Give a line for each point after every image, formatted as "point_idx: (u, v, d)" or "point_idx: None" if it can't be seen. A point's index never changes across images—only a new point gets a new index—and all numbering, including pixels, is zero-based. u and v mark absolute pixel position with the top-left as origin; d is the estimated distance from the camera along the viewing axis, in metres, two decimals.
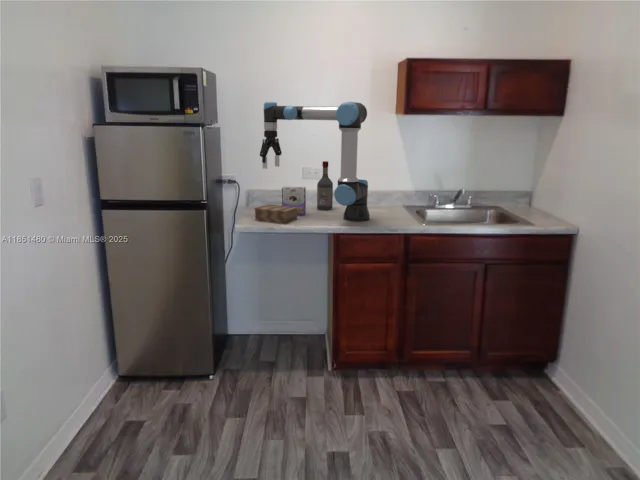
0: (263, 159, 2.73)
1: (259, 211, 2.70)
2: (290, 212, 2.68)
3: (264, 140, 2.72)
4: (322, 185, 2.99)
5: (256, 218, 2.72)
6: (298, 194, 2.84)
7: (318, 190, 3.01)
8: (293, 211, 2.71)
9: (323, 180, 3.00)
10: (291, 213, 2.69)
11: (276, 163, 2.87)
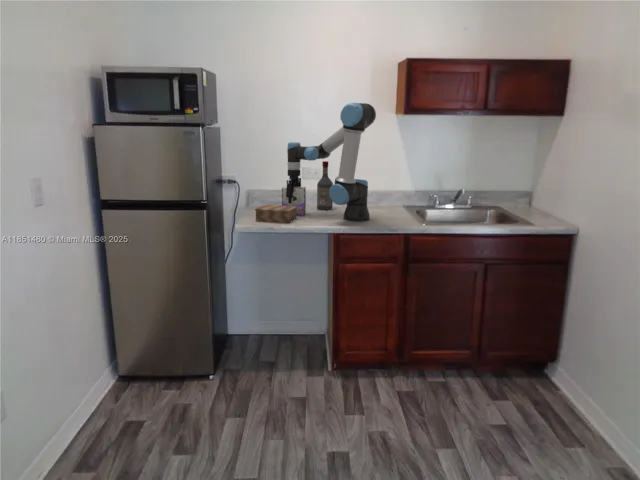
0: (289, 200, 2.83)
1: (260, 212, 2.68)
2: (292, 211, 2.70)
3: (288, 181, 2.80)
4: (322, 185, 2.99)
5: (257, 219, 2.70)
6: (298, 194, 2.84)
7: (318, 190, 3.01)
8: (293, 210, 2.73)
9: (323, 180, 3.00)
10: (292, 212, 2.71)
11: None
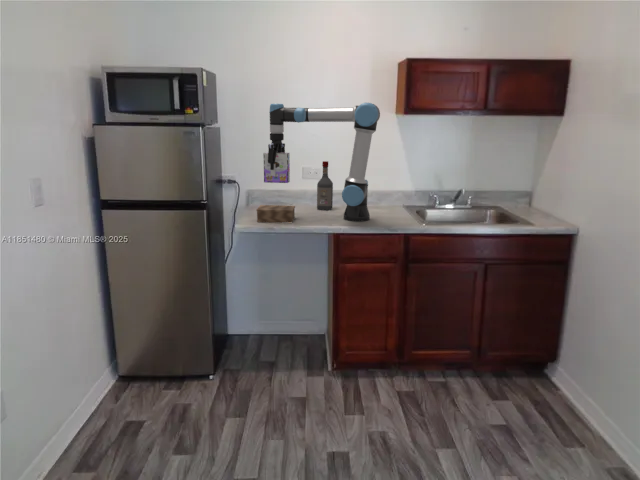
0: (271, 166, 2.63)
1: (262, 212, 2.67)
2: None
3: (270, 146, 2.60)
4: (322, 185, 2.99)
5: (258, 219, 2.68)
6: (281, 159, 2.64)
7: (318, 190, 3.02)
8: (293, 210, 2.75)
9: (323, 180, 3.00)
10: (293, 212, 2.73)
11: None
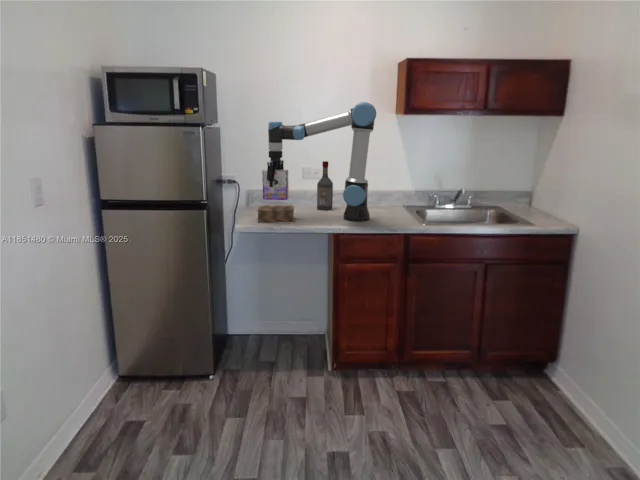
0: (270, 183, 2.64)
1: (263, 212, 2.66)
2: None
3: (269, 163, 2.60)
4: (322, 185, 2.99)
5: (259, 220, 2.67)
6: (280, 177, 2.65)
7: (318, 190, 3.02)
8: None
9: (323, 180, 3.00)
10: None
11: None
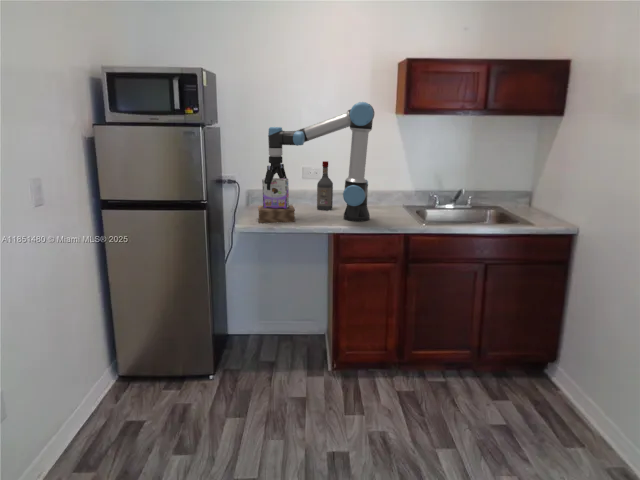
0: (268, 186, 2.62)
1: (264, 213, 2.66)
2: None
3: (269, 167, 2.61)
4: (322, 185, 2.99)
5: (260, 220, 2.66)
6: (279, 186, 2.66)
7: (318, 190, 3.01)
8: None
9: (323, 180, 3.00)
10: None
11: None
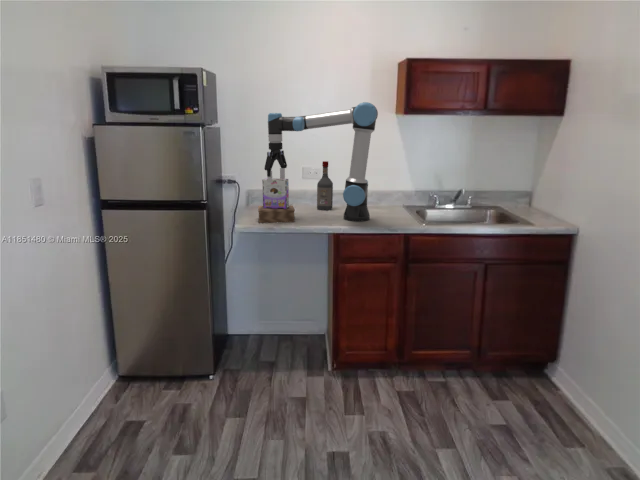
0: (268, 173, 2.60)
1: (264, 213, 2.66)
2: None
3: (269, 153, 2.59)
4: (322, 185, 2.99)
5: (260, 220, 2.66)
6: (279, 186, 2.66)
7: (318, 190, 3.01)
8: None
9: (323, 180, 3.00)
10: None
11: (281, 176, 2.74)
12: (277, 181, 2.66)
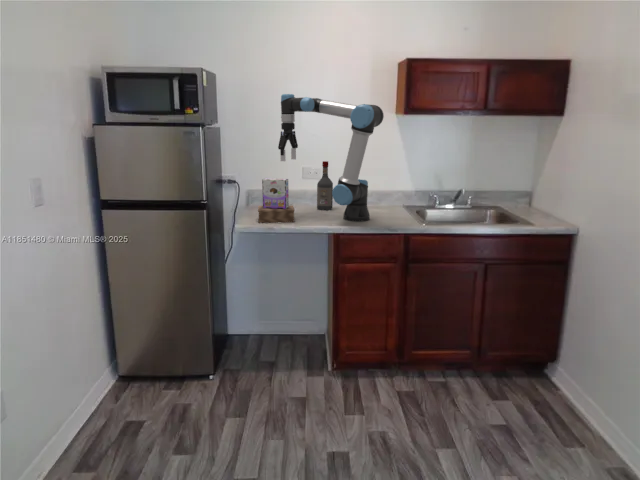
0: (281, 152, 2.71)
1: (264, 213, 2.66)
2: None
3: (282, 132, 2.69)
4: (322, 185, 2.99)
5: (260, 220, 2.67)
6: (279, 186, 2.66)
7: (318, 190, 3.02)
8: None
9: (323, 180, 3.00)
10: None
11: (293, 156, 2.85)
12: (277, 181, 2.66)
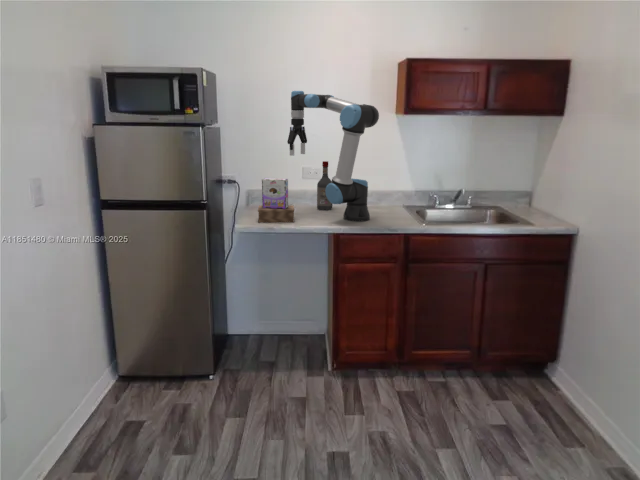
0: (290, 146, 2.81)
1: (263, 213, 2.66)
2: None
3: (291, 128, 2.80)
4: (322, 185, 2.99)
5: (260, 220, 2.67)
6: (278, 186, 2.66)
7: (318, 190, 3.02)
8: None
9: (323, 180, 3.00)
10: None
11: (302, 151, 2.95)
12: (276, 181, 2.65)
